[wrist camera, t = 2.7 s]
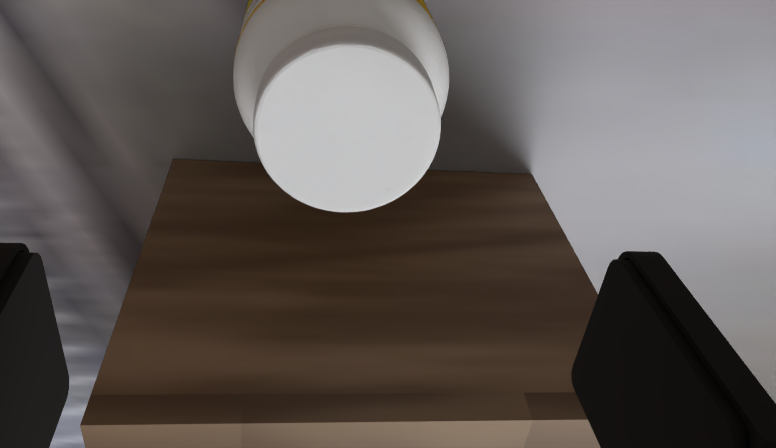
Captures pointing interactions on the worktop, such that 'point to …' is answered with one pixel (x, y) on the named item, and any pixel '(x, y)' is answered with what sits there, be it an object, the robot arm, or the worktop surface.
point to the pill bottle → (342, 96)
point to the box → (346, 320)
